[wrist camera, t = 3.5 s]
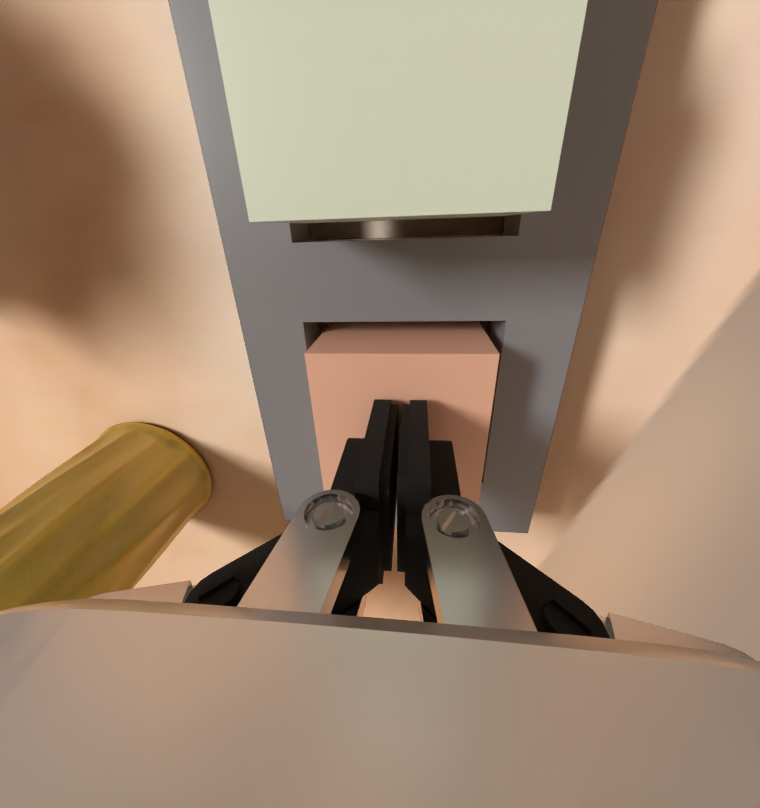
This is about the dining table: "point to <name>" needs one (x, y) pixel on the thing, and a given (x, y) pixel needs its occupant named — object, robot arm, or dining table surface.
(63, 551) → the vase
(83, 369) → the dining table surface
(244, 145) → the key sage
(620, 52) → the keypad board
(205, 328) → the dining table surface
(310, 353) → the key terracotta
